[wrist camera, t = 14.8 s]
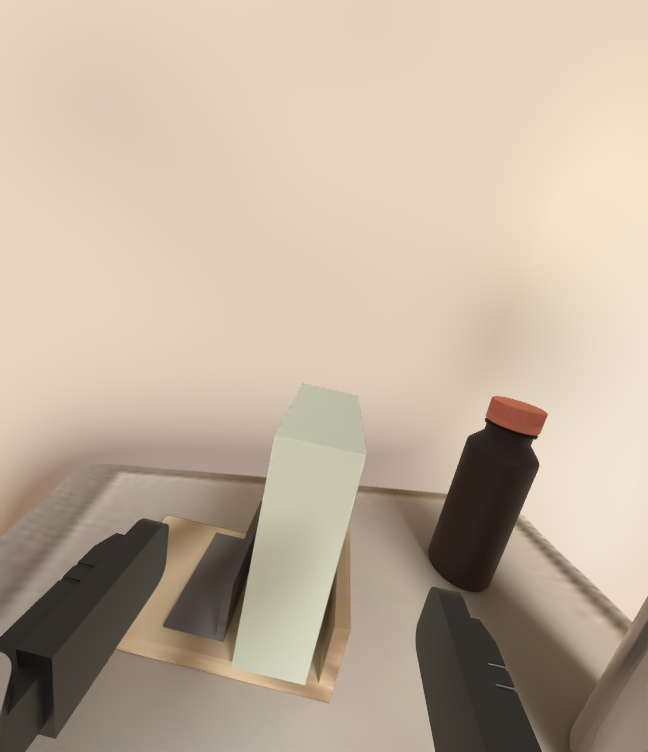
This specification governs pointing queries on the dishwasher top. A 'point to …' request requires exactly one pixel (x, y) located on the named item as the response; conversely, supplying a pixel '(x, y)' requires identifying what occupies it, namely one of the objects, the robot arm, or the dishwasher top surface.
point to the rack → (227, 609)
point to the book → (300, 532)
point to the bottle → (487, 494)
